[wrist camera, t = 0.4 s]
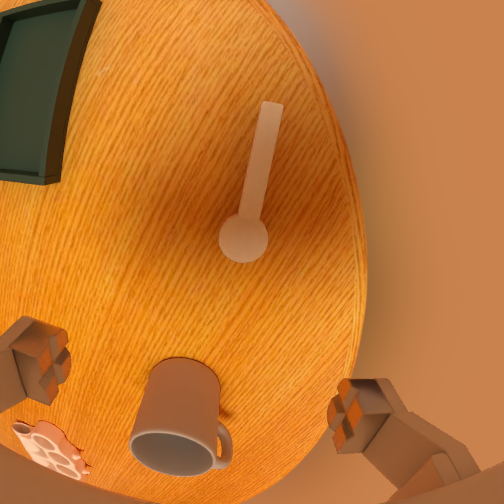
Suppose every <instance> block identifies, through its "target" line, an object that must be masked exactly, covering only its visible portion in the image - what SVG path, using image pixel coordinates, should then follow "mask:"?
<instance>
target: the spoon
mask: <svg viewBox="0 0 504 504" xmlns="http://www.w3.org/2000/svg"><path fill="white" fill-rule="evenodd" d="M283 109H284V105H283V104H279V103H274V102H270V101H265V100H263V101H262V103H261V105H260V109H259V114H258V118H257V123H256V127H255V132H254V137H253V141H252V146H251V151H250V156H249V160H248V165H247V170H246V175H245V180H244V184H243V189H242V194H241V199H240V204H239V209H238V213H235V214H233V215H231V216H229V217H228V218H227V219H226V220H225V221H224V222H223V224H222V226H221V228H220V232H219V237H218V242H219V246H220V249H221V251H222V252H223V254H224V255H225V256H226V257H227V258H229V259H230V260H232V261H234V262H238V263H249V262H252V261H255V260H257V259H258V258H260V257H261V256H262V255H263V253H264V252H265V250H266V248H267V246H268V241H269V237H268V232H267V229H266V227H265V224H264V223H263V221H262V220H261V219H260V215H261V211H262V206H263V201H264V197H265V192H266V187H267V183H268V178H269V174H270V169H271V164H272V160H273V155H274V150H275V146H276V141H277V136H278V132H279V127H280V123H281V118H282V113H283Z"/></svg>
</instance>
